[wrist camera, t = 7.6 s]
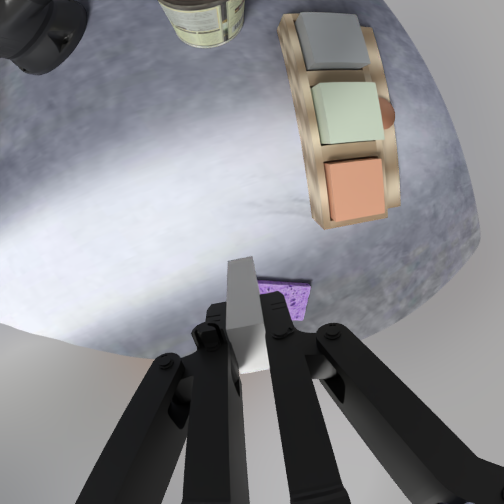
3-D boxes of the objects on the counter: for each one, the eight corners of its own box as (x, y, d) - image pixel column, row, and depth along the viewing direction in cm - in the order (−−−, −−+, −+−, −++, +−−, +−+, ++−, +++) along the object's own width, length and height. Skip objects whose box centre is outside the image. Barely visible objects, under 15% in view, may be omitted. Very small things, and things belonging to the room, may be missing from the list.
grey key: (292, 26, 26) (300, 12, 22) (342, 27, 26) (356, 14, 22) (304, 72, 29) (314, 62, 25) (354, 71, 29) (370, 63, 25)
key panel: (276, 30, 30) (283, 14, 24) (366, 31, 29) (383, 19, 24) (312, 217, 41) (324, 229, 36) (394, 203, 41) (414, 212, 35)
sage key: (308, 90, 30) (319, 82, 26) (358, 88, 30) (375, 82, 26) (318, 143, 33) (330, 143, 28) (367, 138, 33) (384, 139, 28)
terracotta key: (317, 161, 35) (329, 164, 31) (364, 156, 35) (381, 158, 31) (324, 212, 38) (336, 222, 34) (368, 204, 38) (384, 213, 34)
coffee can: (175, 0, 26) (155, -47, 13) (243, -5, 27) (248, -55, 14) (172, 52, 30) (144, 14, 17) (243, 47, 31) (249, 4, 18)
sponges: (300, 314, 49) (303, 320, 47) (231, 311, 47) (231, 317, 46) (309, 281, 46) (311, 286, 44) (235, 276, 45) (235, 281, 43)
